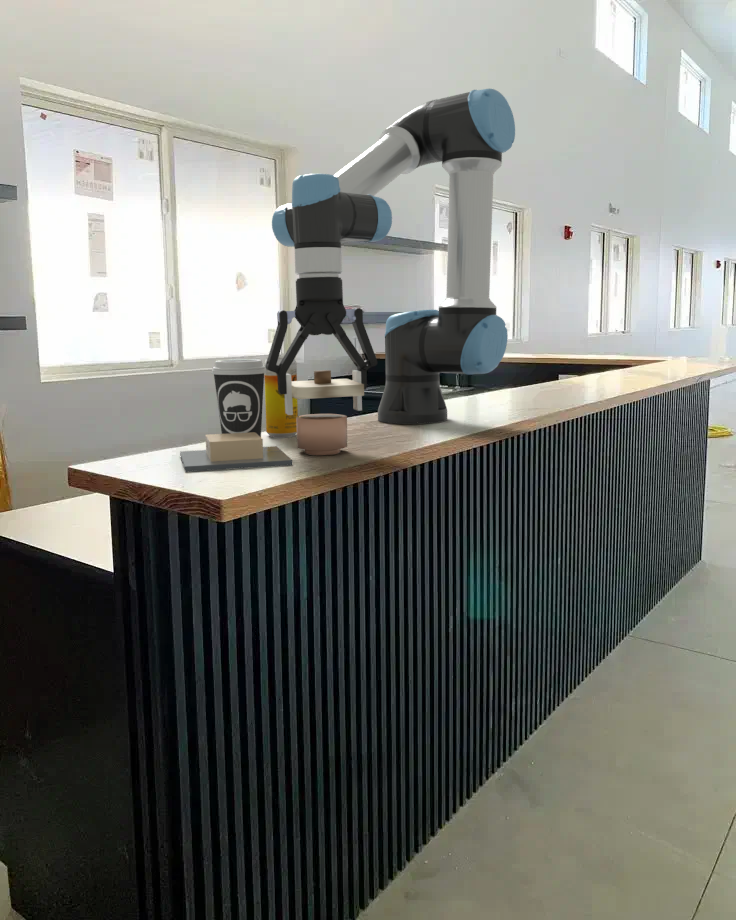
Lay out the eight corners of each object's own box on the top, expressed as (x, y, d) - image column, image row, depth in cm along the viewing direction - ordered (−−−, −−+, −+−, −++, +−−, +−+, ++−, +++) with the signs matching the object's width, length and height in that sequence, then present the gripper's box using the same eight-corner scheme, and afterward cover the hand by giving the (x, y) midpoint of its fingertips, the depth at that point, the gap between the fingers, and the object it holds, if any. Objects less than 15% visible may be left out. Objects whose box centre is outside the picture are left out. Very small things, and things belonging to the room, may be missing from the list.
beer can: (293, 438, 147) (290, 357, 144) (262, 437, 148) (259, 357, 145) (302, 433, 153) (300, 356, 150) (272, 433, 154) (269, 356, 151)
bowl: (340, 446, 137) (339, 412, 135) (353, 454, 129) (352, 418, 128) (292, 449, 134) (291, 414, 133) (302, 457, 126) (301, 420, 125)
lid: (346, 388, 137) (346, 367, 136) (364, 395, 126) (363, 371, 126) (284, 392, 134) (283, 369, 133) (296, 399, 123) (295, 375, 123)
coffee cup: (280, 445, 139) (277, 360, 136) (235, 452, 132) (232, 362, 129) (247, 440, 145) (244, 358, 142) (203, 446, 138) (199, 361, 136)
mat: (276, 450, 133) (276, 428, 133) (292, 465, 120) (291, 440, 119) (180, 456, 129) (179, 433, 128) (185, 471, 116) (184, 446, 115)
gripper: (381, 276, 133) (384, 404, 137) (242, 278, 127) (250, 413, 131) (395, 274, 126) (397, 410, 130) (249, 276, 120) (256, 419, 124)
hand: (323, 411), depth 131 cm, fingers closed on lid, 11 cm apart
